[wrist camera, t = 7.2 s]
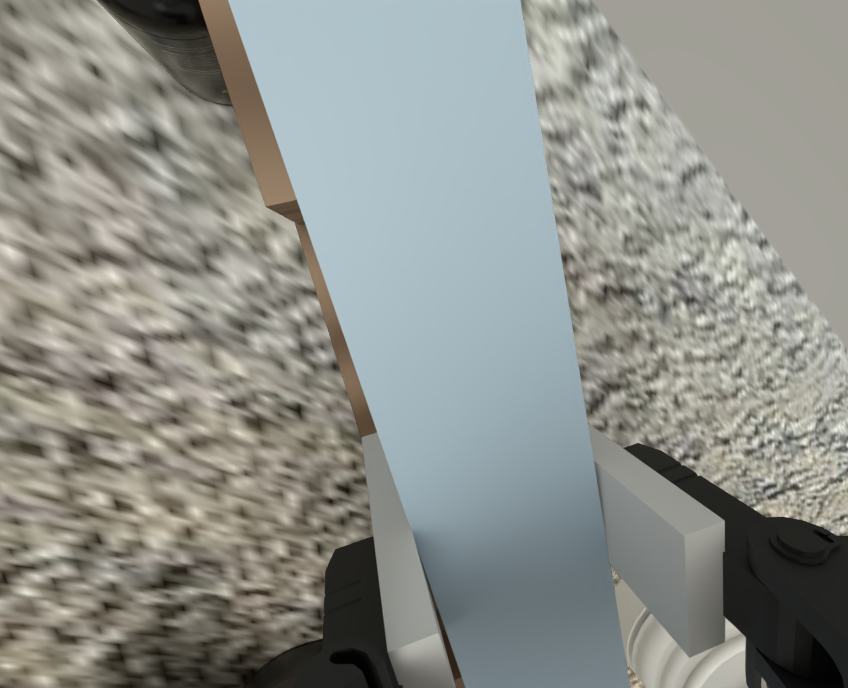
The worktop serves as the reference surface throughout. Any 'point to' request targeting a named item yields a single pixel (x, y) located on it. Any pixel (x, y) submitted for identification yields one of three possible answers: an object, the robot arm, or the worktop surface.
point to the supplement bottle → (175, 42)
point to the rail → (452, 311)
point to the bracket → (286, 205)
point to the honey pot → (676, 651)
